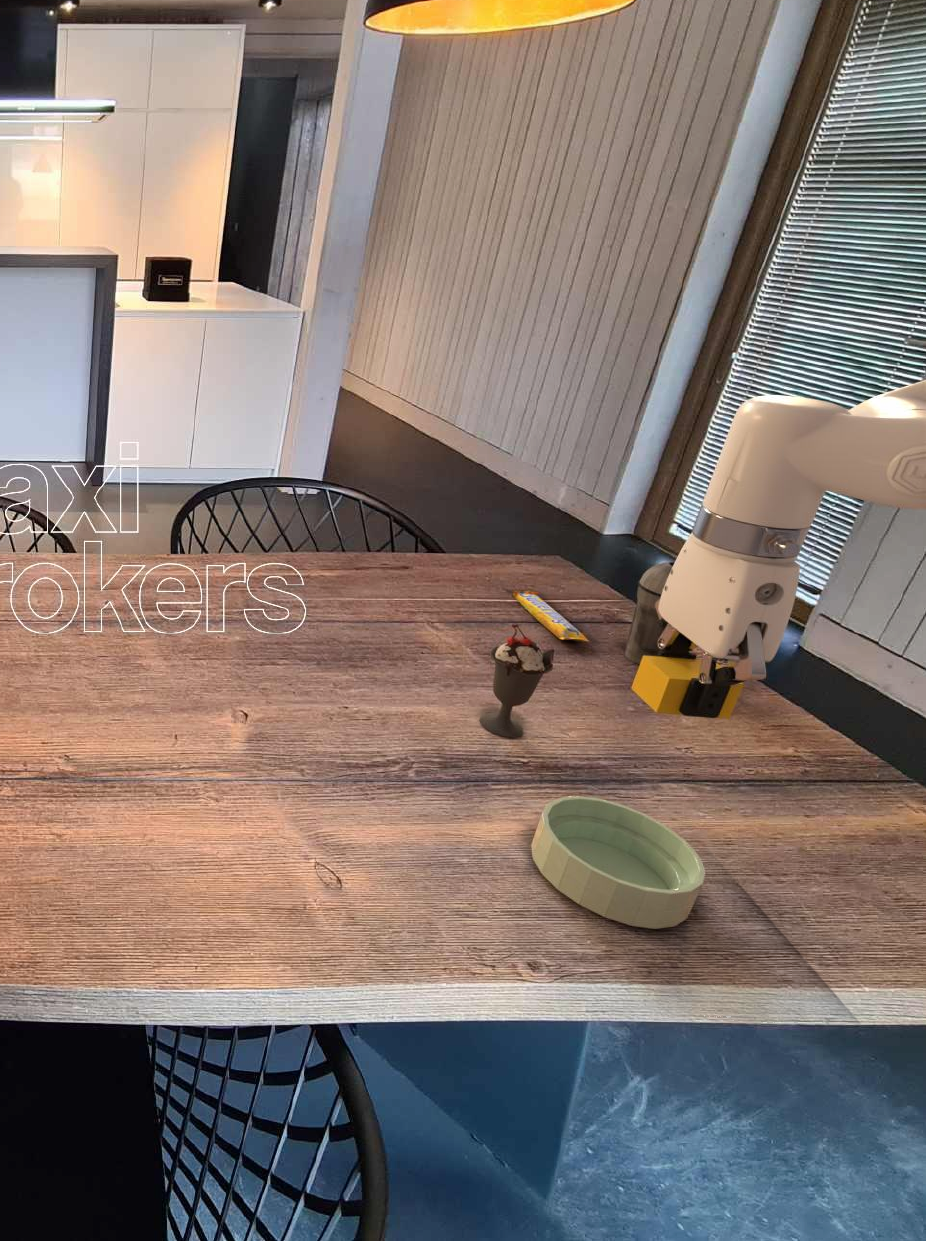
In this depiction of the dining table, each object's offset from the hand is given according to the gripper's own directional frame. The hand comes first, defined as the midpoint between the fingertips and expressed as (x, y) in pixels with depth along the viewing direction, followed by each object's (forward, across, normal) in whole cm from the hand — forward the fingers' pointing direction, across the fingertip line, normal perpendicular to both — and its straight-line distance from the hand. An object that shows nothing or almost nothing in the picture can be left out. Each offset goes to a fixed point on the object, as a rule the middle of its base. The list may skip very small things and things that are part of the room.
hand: (681, 698), depth 82 cm
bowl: (+17, -8, +6) cm, 20 cm away
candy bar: (+17, +50, -14) cm, 55 cm away
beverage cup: (+17, +40, -23) cm, 49 cm away
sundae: (+17, +18, +6) cm, 26 cm away
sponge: (+1, 0, 0) cm, 1 cm away
